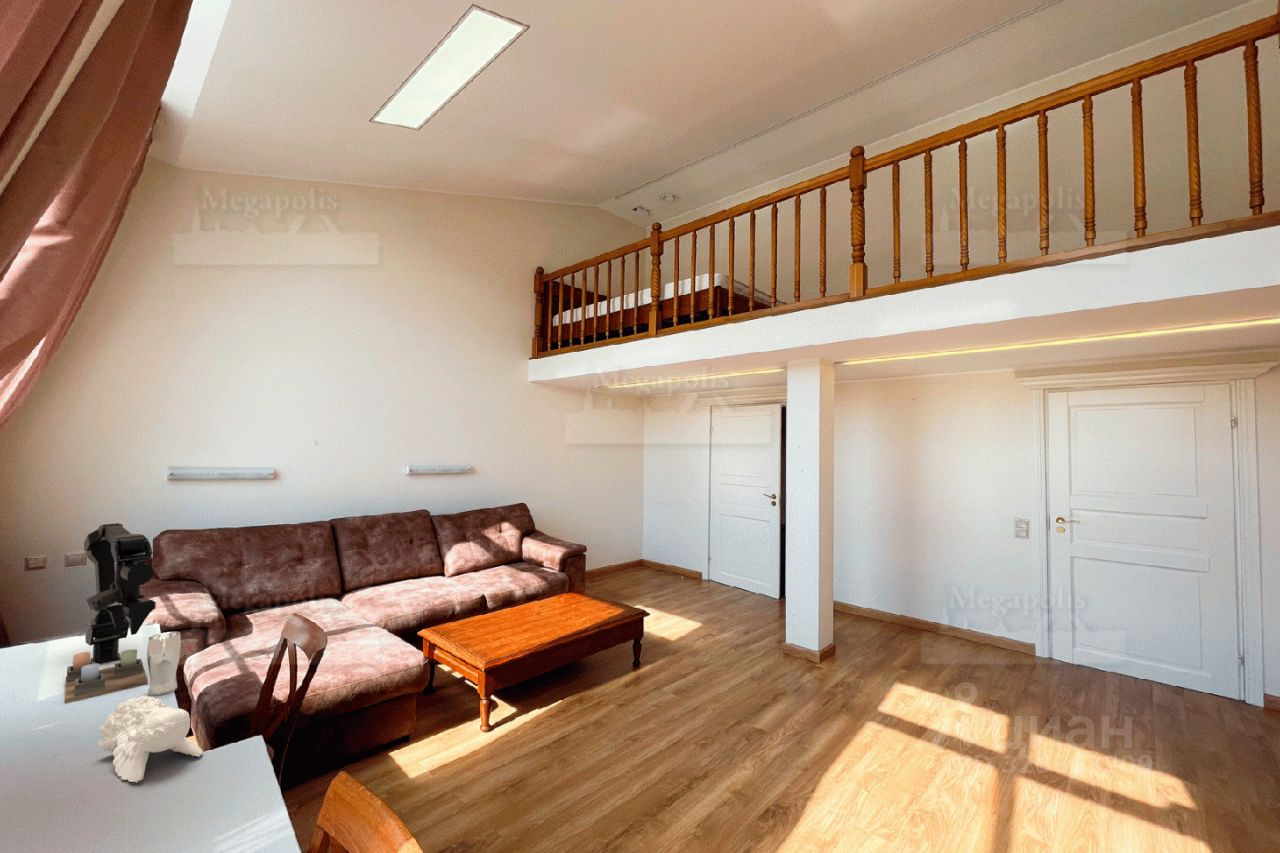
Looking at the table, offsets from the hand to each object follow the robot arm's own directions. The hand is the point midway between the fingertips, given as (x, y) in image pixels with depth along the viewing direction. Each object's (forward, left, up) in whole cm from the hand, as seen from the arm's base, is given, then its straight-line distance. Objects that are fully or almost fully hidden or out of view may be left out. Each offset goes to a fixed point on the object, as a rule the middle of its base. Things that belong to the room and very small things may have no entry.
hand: (125, 631), depth 160 cm
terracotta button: (-2, -9, -9) cm, 13 cm away
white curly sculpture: (+63, +2, -13) cm, 64 cm away
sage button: (+5, +1, -9) cm, 10 cm away
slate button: (+11, -7, -9) cm, 16 cm away
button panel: (+5, -4, -12) cm, 14 cm away
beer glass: (+23, +7, -13) cm, 27 cm away
